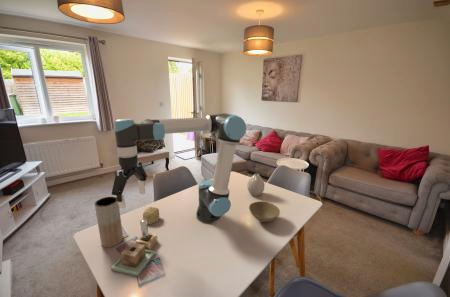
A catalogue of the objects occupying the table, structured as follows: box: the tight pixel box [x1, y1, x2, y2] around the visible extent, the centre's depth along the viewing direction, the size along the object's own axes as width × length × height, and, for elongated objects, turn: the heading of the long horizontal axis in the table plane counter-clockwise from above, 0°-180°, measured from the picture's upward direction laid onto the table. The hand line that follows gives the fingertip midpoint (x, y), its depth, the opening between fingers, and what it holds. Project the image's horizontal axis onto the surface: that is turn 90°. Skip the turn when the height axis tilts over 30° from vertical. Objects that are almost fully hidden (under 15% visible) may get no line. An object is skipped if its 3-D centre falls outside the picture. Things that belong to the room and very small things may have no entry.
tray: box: [110, 249, 156, 277], centre depth 91 cm, size 13×13×2 cm
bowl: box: [248, 200, 281, 223], centre depth 122 cm, size 18×18×8 cm
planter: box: [94, 195, 124, 248], centre depth 101 cm, size 10×10×23 cm
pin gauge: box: [139, 218, 150, 242], centre depth 100 cm, size 3×3×14 cm
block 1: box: [120, 242, 146, 268], centre depth 90 cm, size 7×7×6 cm
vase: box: [246, 173, 265, 197], centre depth 153 cm, size 13×13×17 cm
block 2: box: [135, 232, 158, 250], centre depth 101 cm, size 7×7×4 cm
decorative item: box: [142, 206, 160, 225], centre depth 121 cm, size 10×10×10 cm
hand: (133, 200), depth 92 cm, fingers open, 13 cm apart
